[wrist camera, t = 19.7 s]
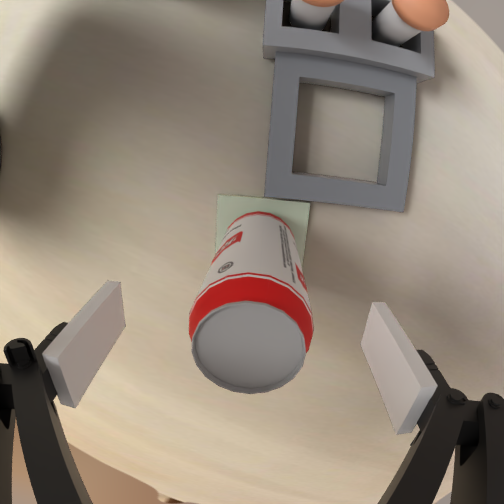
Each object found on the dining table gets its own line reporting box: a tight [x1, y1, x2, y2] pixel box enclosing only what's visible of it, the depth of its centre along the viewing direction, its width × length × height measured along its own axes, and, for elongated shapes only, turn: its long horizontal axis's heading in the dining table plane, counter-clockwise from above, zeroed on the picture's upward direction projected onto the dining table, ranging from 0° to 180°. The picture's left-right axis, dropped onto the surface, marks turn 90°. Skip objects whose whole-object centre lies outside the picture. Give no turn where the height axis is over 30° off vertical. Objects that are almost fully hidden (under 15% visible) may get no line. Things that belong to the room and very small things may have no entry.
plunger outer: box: [371, 0, 449, 47], centre depth 17 cm, size 4×4×8 cm
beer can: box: [189, 211, 314, 394], centre depth 21 cm, size 6×6×16 cm
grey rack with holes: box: [263, 0, 435, 212], centre depth 23 cm, size 14×19×4 cm
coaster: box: [215, 194, 310, 267], centre depth 29 cm, size 8×8×1 cm
